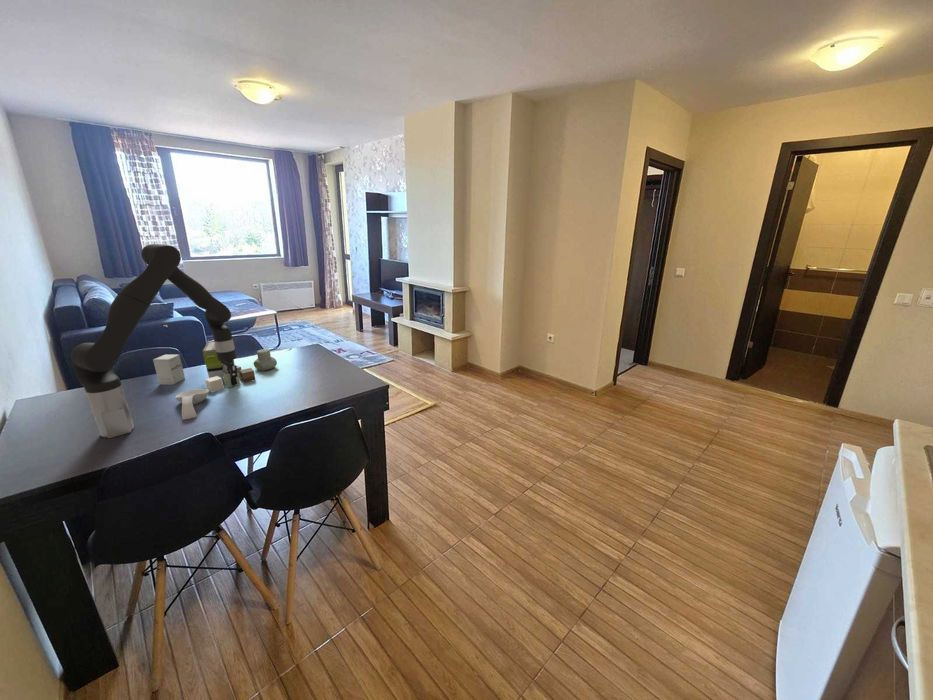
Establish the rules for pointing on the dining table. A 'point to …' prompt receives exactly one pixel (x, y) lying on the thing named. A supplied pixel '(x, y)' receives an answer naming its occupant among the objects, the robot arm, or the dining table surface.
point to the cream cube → (214, 383)
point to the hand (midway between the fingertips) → (232, 383)
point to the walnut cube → (247, 375)
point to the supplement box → (169, 369)
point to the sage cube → (228, 381)
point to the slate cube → (238, 370)
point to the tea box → (212, 361)
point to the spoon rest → (191, 401)
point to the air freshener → (264, 360)
